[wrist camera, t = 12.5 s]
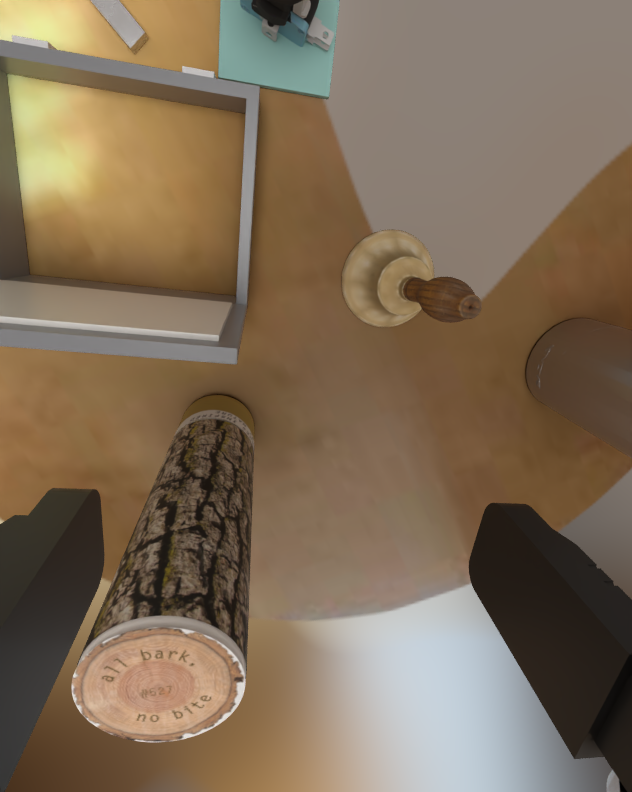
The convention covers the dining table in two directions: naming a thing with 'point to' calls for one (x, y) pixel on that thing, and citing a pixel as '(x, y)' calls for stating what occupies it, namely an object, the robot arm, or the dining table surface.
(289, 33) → the push button
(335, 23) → the pad
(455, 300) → the hand bell
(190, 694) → the brown bark-textured cylinder
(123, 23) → the rod
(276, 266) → the dining table surface
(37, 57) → the case
